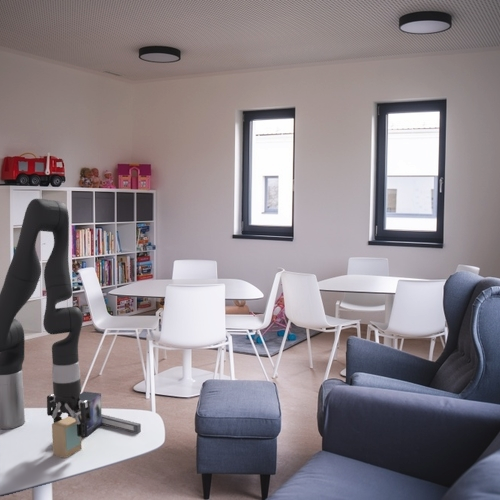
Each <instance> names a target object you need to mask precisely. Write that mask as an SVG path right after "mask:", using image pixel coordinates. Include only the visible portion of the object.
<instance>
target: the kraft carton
mask: <svg viewBox="0 0 500 500" xmlns="http://www.w3.org/2000/svg"><path fill="white" fill-rule="evenodd" d="M51 435H52V437H51V438H52V439H51V440H52V455H53V456H57V457H60V458H63V459H66V458H68V457H70V456H72V455H74V454H76V453H78V452H79V451H81V450H82V437H79V436H77V422H76V420H75V419H74V418H72V417H68V416H67V417H64V418H63V419H62V420H60V421H58V422H55V423H54V422H53V423H52V424H51Z"/></svg>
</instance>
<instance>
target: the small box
mask: <svg viewBox="0 0 500 500" xmlns="http://www.w3.org/2000/svg"><path fill="white" fill-rule="evenodd" d="M79 397H80V400H81V401H85V400H89V405H90V415H91V420H90V421H88V422H86V423H85V434H84V435H83V436H81V438H87V437H89V436H90V435H91V434H92V433H94V431H96V430H97V429H98V428H100V427H101V426H102V425H103V424H102V393H100V392H91V391H81V393H80V395H79ZM75 413H78V410H77V411H76V412H75ZM85 416H86V415H85ZM67 417H72V416H71V414H67ZM78 417H79V419H81V418H80V416H78Z"/></svg>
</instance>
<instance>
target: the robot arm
mask: <svg viewBox="0 0 500 500" xmlns="http://www.w3.org/2000/svg"><path fill="white" fill-rule="evenodd" d="M40 232H47V233H49V232H50V233H52V235H53V247H52V250H51V252H50V254H49V257H48V258H47V260H46V263H45V267H44V269H43V270H44V271H43V277H44V278H43V279H44V287H45V292H46V293H45V294H46V295H45V297H46V299H45V300H46V303H45V310H44V315H43V323H42V324H43V328H44V330H45V331H46V333H48V334H49V335H59V334H60V335H61V334H67V336H66V337H65V338H64V339H61V340H58V341H55V342H54V343H52V346H51V356H52V357H51V358H52V369H51V372H52V373H51V375H52V388H53V389H52V390H53V391H52V393H51V394H49V395H47V396H46V414H47V416H48V417H50V416H51V418H52V420H53V423H55V422H58V421H60V420H62V415H63V414H67V415H68V414H71V416H72V418H74V419H75V420H76V422H77V436H79V437H81V436H83V435H84V434H85V423H86V422H88V421H90V420H91V415H90V405H89V400H85V401H81V400H80V397H79V395H80V394H81V393H82V384H81V383H82V382H81V367H80V363H79V362H80V361H79V360H80V359H79V340H80V335H81V332H82V328H83V324H84V316H83V312H82V310H81V309H80V308H79V307H77V306H68V307H58V308H57V307H56V305H57V304H59V303H61V302H65V301H68V300H69V299H71V298H72V296H73V288H72V279H71V274H70V266H69V265H70V263H69V251H70V250H69V249H70V247H69V245H70V242H69V241H70V216H69V210H68V207H67V205H66V204H65V203H63V202H62V201H59V200H52V199H45V198H33V199H32V200H31V201H30V202H29V203H28V205H27V207H26V209H25V212H24V217H23V220H22V224H21V228H20V233H19V236H18V241H17V244H16V248H15V251H14V253H13V257H12V260H11V262H10V264H9V267H8V270H7V272H6V276H5V277H4V278H5V279H4V282H3V285H2V288H1V290H0V429H2V430H6V429H8V430H10V429H14V428H19V427H21V426H22V425H24V424H25V422H26V418H25V417H26V416H25V397H24V377H23V376H24V375H23V364H24V361H25V347H26V345H25V343H26V341H25V339H26V338H25V332H24V331H25V330H24V327H23V325H22V323H21V322H20V321H19V320H18V319H16V316H17V314H18V313H19V312H20V310H22V308H23V307H24V306H25V305H26V304H27V302H28V301H29V300H30V299H31V297H32V296H33V295H34V293H35V292H36V289H37V287H38V283H39V281H40V278H41V275H42V265H41V263H40V259H39V256H38V252H37V249H36V243H37V239H38V235H39V233H40ZM77 410H78V413H75V412H76V411H77ZM85 415H86V416H85ZM78 416H80V418H81V419H79V417H78ZM81 438H82V437H81Z"/></svg>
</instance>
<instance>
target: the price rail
mask: <svg viewBox="0 0 500 500" xmlns="http://www.w3.org/2000/svg"><path fill="white" fill-rule="evenodd" d="M101 414H102V413H101ZM102 425H103V426H106V427H107V426H108V427H111V428H115V429H118V430H119V429H120V430H124V431H128V432H131V433H134V434H135V433H136V434H139V433H141V431H142V430H141V429H142V428H141V425H142V424H141V423H138V422H134V421H131V420H126V419H122V418H119V417H115V416H110V415H107V414H102Z"/></svg>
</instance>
